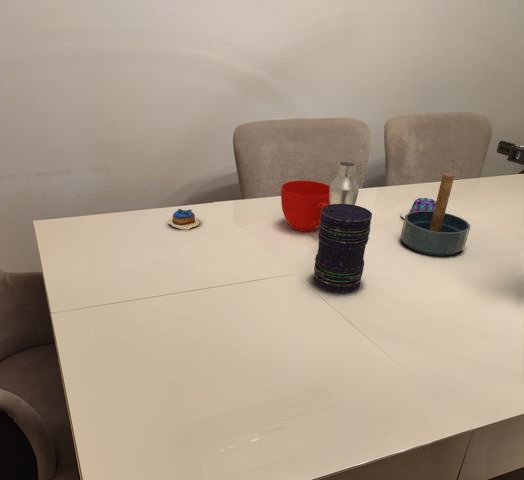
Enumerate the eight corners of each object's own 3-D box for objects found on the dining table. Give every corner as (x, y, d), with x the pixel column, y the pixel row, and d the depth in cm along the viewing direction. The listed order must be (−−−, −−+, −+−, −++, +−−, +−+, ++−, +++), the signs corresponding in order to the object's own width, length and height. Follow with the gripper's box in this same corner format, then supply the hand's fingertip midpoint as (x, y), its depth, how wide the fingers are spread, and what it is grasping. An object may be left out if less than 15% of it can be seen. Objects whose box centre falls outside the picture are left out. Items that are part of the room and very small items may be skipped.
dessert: (183, 229, 122) (174, 206, 121) (169, 238, 127) (160, 216, 126) (207, 223, 127) (198, 201, 127) (192, 232, 132) (183, 211, 132)
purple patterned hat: (441, 214, 142) (446, 196, 139) (447, 229, 133) (452, 210, 130) (399, 210, 144) (402, 191, 141) (401, 224, 134) (405, 205, 131)
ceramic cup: (300, 245, 119) (304, 203, 114) (270, 220, 132) (272, 182, 126) (346, 238, 124) (352, 198, 118) (313, 215, 137) (317, 178, 131)
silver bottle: (344, 246, 120) (356, 160, 108) (353, 258, 114) (367, 168, 103) (318, 247, 119) (328, 160, 107) (325, 259, 113) (337, 168, 102)
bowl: (471, 244, 125) (478, 221, 121) (450, 263, 114) (457, 238, 111) (414, 228, 132) (419, 206, 129) (389, 245, 122) (394, 221, 118)
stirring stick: (444, 241, 123) (461, 174, 114) (437, 246, 120) (454, 178, 111) (427, 236, 125) (443, 170, 116) (420, 241, 122) (435, 174, 113)
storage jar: (362, 275, 107) (374, 207, 99) (359, 296, 99) (371, 224, 91) (316, 269, 109) (324, 201, 100) (309, 289, 101) (317, 217, 92)
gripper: (625, 140, 87) (544, 122, 99) (573, 146, 82) (494, 126, 93) (606, 183, 92) (531, 161, 103) (555, 192, 86) (482, 167, 98)
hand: (514, 144), depth 98 cm, fingers open, 8 cm apart
